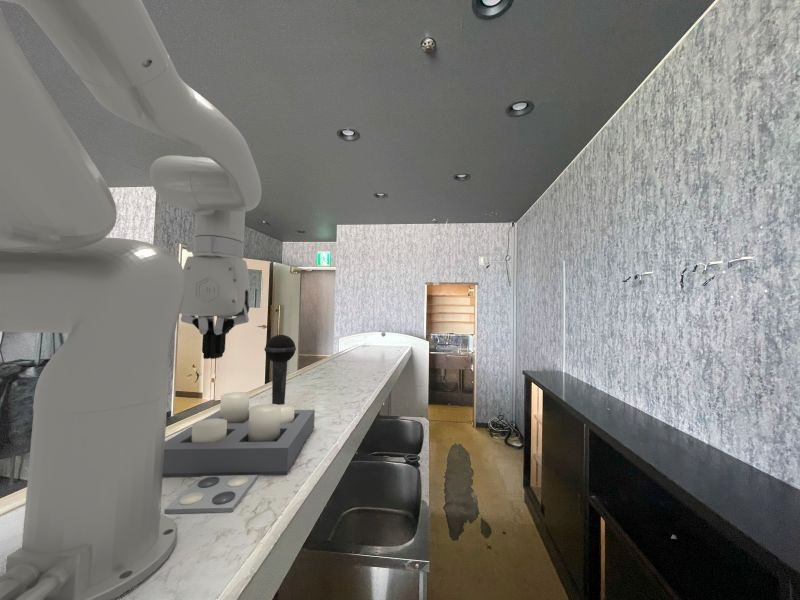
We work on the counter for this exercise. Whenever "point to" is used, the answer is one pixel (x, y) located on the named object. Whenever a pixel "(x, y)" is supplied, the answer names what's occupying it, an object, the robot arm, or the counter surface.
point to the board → (237, 450)
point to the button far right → (287, 413)
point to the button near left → (209, 430)
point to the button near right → (264, 423)
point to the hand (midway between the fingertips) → (213, 357)
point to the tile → (213, 494)
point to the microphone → (279, 364)
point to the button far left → (235, 407)
